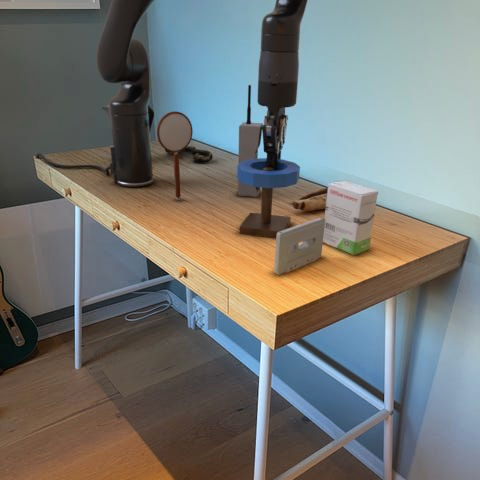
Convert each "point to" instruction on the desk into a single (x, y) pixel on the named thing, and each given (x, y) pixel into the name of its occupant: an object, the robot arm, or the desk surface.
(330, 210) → the ink box
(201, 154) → the rubber snake
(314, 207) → the lashed bone hook
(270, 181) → the tape roll
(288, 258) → the cassette
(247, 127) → the vintage mobile phone
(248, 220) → the peg stand
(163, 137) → the magnifying glass
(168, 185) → the desk surface
